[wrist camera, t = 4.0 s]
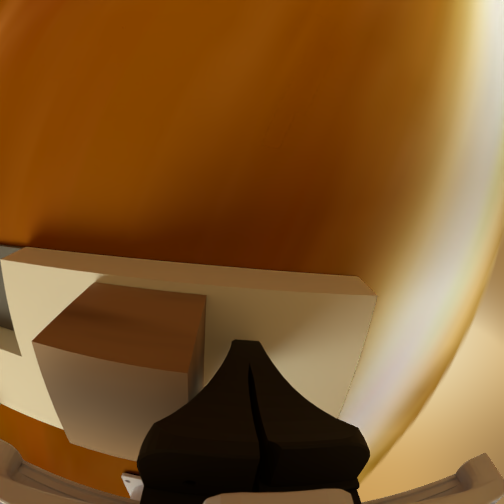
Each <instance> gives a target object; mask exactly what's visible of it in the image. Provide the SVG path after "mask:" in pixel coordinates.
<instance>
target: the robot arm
mask: <svg viewBox="0 0 504 504" xmlns="http://www.w3.org/2000/svg"><path fill="white" fill-rule="evenodd" d="M369 457H370V451H369V448H368V446H367V443H366V441H365V439H364V437H363V435H362V434H361V432H360V430H359V428H358V427H355V426H353V425H350V424H348V423H346V422H344V421H341V420H339V419H337V418H335V417H333V416H331V415H330V414H328V413H326V412H324V411H323V410H321V409H320V408H318V407H317V406H315V405H314V404H312V403H311V402H310V401H308V400H307V399H306V398H305V397H303V396H302V395H301V394H300V393H299V392H298V391H296V390H295V389H294V388H293V387H292V386H291V385H290V384H289V382H288V381H287V380H286V379H285V378H284V377H283V376H282V374H281V373H280V372H279V371H278V369H277V368H276V366H275V365H274V364H273V362H272V361H271V359H270V358H269V356H268V355H267V353H266V351H265V350H264V348H263V346H262V344H261V343H260V342H259V341H251V340H237V339H234V340H233V341H232V342H231V347H230V350H229V352H228V354H227V356H226V358H225V360H224V361H223V363H222V365H221V367H220V368H219V369H218V371H217V372H216V374H215V375H214V376H213V378H212V379H211V380H210V381H209V383H208V384H207V385H206V386H205V387H204V388H203V389H202V390H201V391H200V392H199V393H198V394H197V395H196V396H195V397H194V398H193V399H192V400H190V401H189V402H188V403H187V404H185V405H184V406H182V407H181V408H180V409H178V410H177V411H175V412H174V413H172V414H171V415H169V416H167V417H165V418H163V419H161V420H159V421H157V422H155V423H154V424H153V425H152V427H151V428H150V430H149V431H148V433H147V435H146V437H145V439H144V441H143V443H142V445H141V448H140V451H139V455H138V458H137V468H138V471H139V474H140V476H137V475H132V474H128V473H123V474H122V479H123V481H124V484H125V486H126V488H127V490H128V492H129V494H130V496H131V497H130V499H129V498H125V497H121V496H117V495H113V494H110V493H106V492H103V491H100V490H96V489H93V488H90V487H87V486H84V485H81V484H78V483H76V482H73V481H70V480H68V479H65V478H62V477H60V476H57V475H55V474H52V473H50V472H48V471H45V470H43V469H41V468H39V467H37V466H34V465H32V464H30V463H28V462H26V461H24V460H23V459H22V457H21V455H20V454H19V452H18V451H17V450H16V449H15V448H14V447H13V446H12V445H10V444H9V443H7V442H5V441H3V440H1V439H0V504H496V503H497V502H498V501H499V500H500V499H501V498H502V497H503V496H504V479H503V477H502V476H501V474H500V473H499V471H498V470H497V468H496V467H495V465H494V464H493V462H492V461H491V460H490V458H489V457H488V455H487V454H486V453H483V454H481V455H479V456H477V457H475V458H473V459H470V460H468V461H467V462H465V463H464V464H463V465H462V466H461V467H460V468H459V469H458V471H457V472H456V474H454V475H452V476H449V477H446V478H444V479H441V480H439V481H436V482H433V483H430V484H428V485H424V486H422V487H419V488H415V489H412V490H409V491H406V492H402V493H399V494H395V495H392V496H388V497H384V498H380V499H376V500H371V501H367V502H362V503H361V501H360V498H359V495H358V492H357V489H358V488H359V482H358V479H357V477H358V475H359V474H360V472H361V471H362V470H363V468H364V466H365V465H366V463H367V462H368V460H369Z"/></svg>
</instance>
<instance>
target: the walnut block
mask: <svg viewBox="0 0 504 504" xmlns="http://www.w3.org/2000/svg"><path fill="white" fill-rule="evenodd" d="M206 297H207V295H200V294H190V293H180V292H171V291H162V290H153V289H144V288H136V287H128V286H120V285H112V284H105V283H98V282H94V283H93V284H92V285H90V286H89V287H88V288H87V289H86V290H85V291H84V292H83V293H81V294H80V295H79V296H78V297H77V298H76V299H75V300H74V301H73V302H72V303H71V304H69V305H68V306H67V307H66V308H65V309H64V310H63V311H62V312H61V313H60V314H59V315H58V316H57V317H56V318H55V319H53V320H52V321H51V322H50V323H49V324H48V325H47V326H46V327H45V328H44V329H43V330H42V331H41V332H40V333H39V334H38V335H37V336H36V337H35V338H34V339H33V340H32V345H33V348H34V352H35V355H36V359H37V362H38V365H39V368H40V371H41V374H42V377H43V380H44V383H45V385H46V388H47V391H48V393H49V396H50V399H51V401H52V404H53V406H54V409H55V411H56V413H57V416H58V418H59V420H60V422H61V425H62V427H63V429H64V431H65V433H66V435H67V438H68V440H69V442H70V443H72V444H75V445H78V446H81V447H85V448H88V449H91V450H94V451H98V452H101V453H105V454H108V455H112V456H116V457H120V458H124V459H128V460H133V461H137V458H138V455H139V451H140V448H141V445H142V443H143V441H144V439H145V437H146V435H147V433H148V431H149V430H150V428H151V427H152V425H153V424H154V423H155V422H157V421H159V420H161V419H163V418H165V417H167V416H169V415H171V414H172V413H174V412H175V411H177V410H178V409H180V408H181V407H182V406H184V405H185V404H187V403H188V402H189V401H190V400H192V399H193V398H194V397H195V396H196V395H197V394H198V393H199V392H200V391H201V390H202V389H203V388H204V350H205V320H206Z"/></svg>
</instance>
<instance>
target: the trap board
mask: <svg viewBox="0 0 504 504" xmlns="http://www.w3.org/2000/svg"><path fill="white" fill-rule="evenodd" d="M94 282H98V283H105V284H112V285H120V286H128V287H136V288H144V289H153V290H162V291H171V292H180V293H190V294H200V295H207V297H206V320H205V350H204V387H205V386H206V385H207V384H208V383H209V381H210V380H211V379H212V378H213V376H214V375H215V374H216V372H217V371H218V369H219V368H220V367H221V365H222V363H223V361H224V360H225V358H226V356H227V354H228V352H229V350H230V347H231V342H232V341H233V340H234V339H237V340H251V341H259V342H260V343H261V344H262V346H263V348H264V350H265V351H266V353H267V355H268V356H269V358H270V359H271V361H272V362H273V364H274V365H275V366H276V368H277V369H278V371H279V372H280V373H281V374H282V376H283V377H284V378H285V379H286V380H287V381H288V382H289V384H290V385H291V386H292V387H293V388H294V389H295V390H296V391H298V392H299V393H300V394H301V395H302V396H303V397H305V398H306V399H307V400H308V401H310V402H311V403H312V404H314V405H315V406H317V407H318V408H320V409H321V410H323V411H324V412H326V413H328V414H330V415H331V416H333V417H335V418H337V419H338V417H339V414H340V412H341V409H342V406H343V404H344V401H345V399H346V396H347V393H348V391H349V388H350V385H351V382H352V379H353V377H354V374H355V371H356V368H357V365H358V362H359V359H360V356H361V353H362V349H363V346H364V343H365V340H366V336H367V333H368V330H369V326H370V323H371V319H372V315H373V312H374V308H375V304H376V300H377V295H376V294H375V293H374V292H373V291H372V290H371V289H370V288H369V287H368V286H367V285H366V284H365V283H364V282H363V281H362V280H361V279H360V278H359V277H358V276H344V275H329V274H315V273H302V272H288V271H275V270H263V269H250V268H238V267H226V266H214V265H203V264H191V263H180V262H169V261H158V260H148V259H137V258H127V257H117V256H107V255H97V254H88V253H78V252H69V251H60V250H51V249H42V248H33V247H17V246H9V245H1V244H0V404H3V405H5V406H8V407H10V408H12V409H14V410H16V411H18V412H21V413H23V414H25V415H27V416H30V417H32V418H35V419H37V420H40V421H42V422H45V423H47V424H50V425H53V426H55V427H58V428H61V429H63V427H62V425H61V422H60V420H59V418H58V416H57V413H56V411H55V409H54V406H53V404H52V401H51V399H50V396H49V393H48V391H47V388H46V385H45V383H44V380H43V377H42V374H41V371H40V368H39V365H38V362H37V359H36V355H35V352H34V348H33V345H32V340H33V339H34V338H35V337H36V336H37V335H38V334H39V333H40V332H41V331H42V330H43V329H44V328H45V327H46V326H47V325H48V324H49V323H50V322H51V321H52V320H53V319H55V318H56V317H57V316H58V315H59V314H60V313H61V312H62V311H63V310H64V309H65V308H66V307H67V306H68V305H69V304H71V303H72V302H73V301H74V300H75V299H76V298H77V297H78V296H79V295H80V294H81V293H83V292H84V291H85V290H86V289H87V288H88V287H89V286H90V285H92V284H93V283H94Z"/></svg>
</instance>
